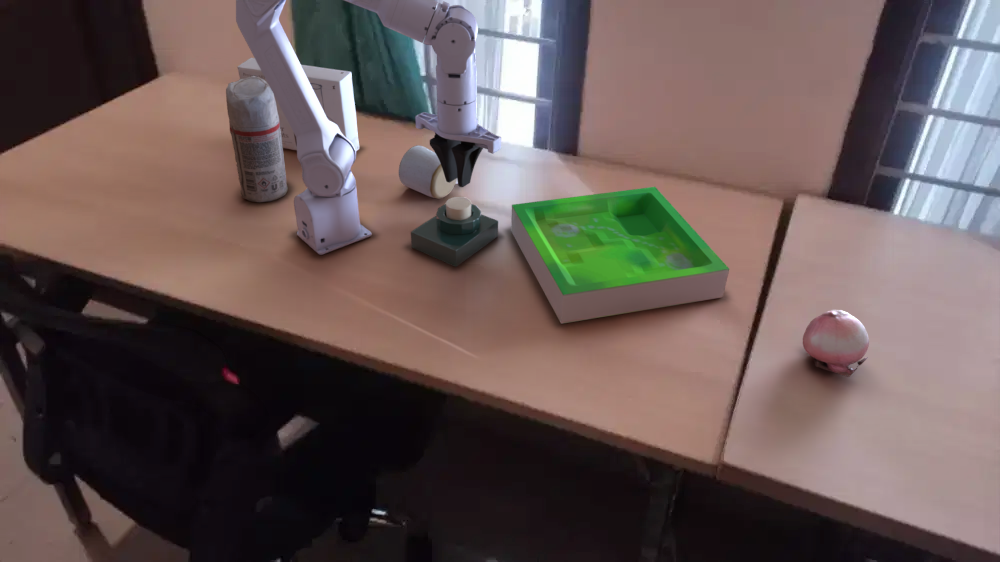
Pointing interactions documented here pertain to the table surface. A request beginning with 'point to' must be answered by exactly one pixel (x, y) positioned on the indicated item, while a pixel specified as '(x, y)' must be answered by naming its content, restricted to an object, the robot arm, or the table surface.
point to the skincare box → (330, 92)
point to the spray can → (256, 139)
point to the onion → (836, 341)
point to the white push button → (458, 208)
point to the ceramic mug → (424, 173)
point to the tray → (615, 254)
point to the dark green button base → (454, 236)
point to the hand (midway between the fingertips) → (458, 182)
